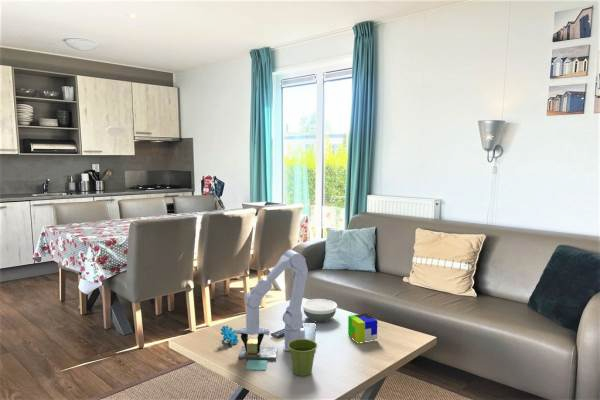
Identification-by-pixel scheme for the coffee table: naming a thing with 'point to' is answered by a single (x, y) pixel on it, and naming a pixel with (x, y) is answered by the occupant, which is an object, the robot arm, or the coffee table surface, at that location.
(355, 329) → the puzzle toy
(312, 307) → the bowl
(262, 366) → the teal mat
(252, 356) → the rail plate
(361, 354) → the coffee table surface
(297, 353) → the plant pot
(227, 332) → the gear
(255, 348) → the brass block
